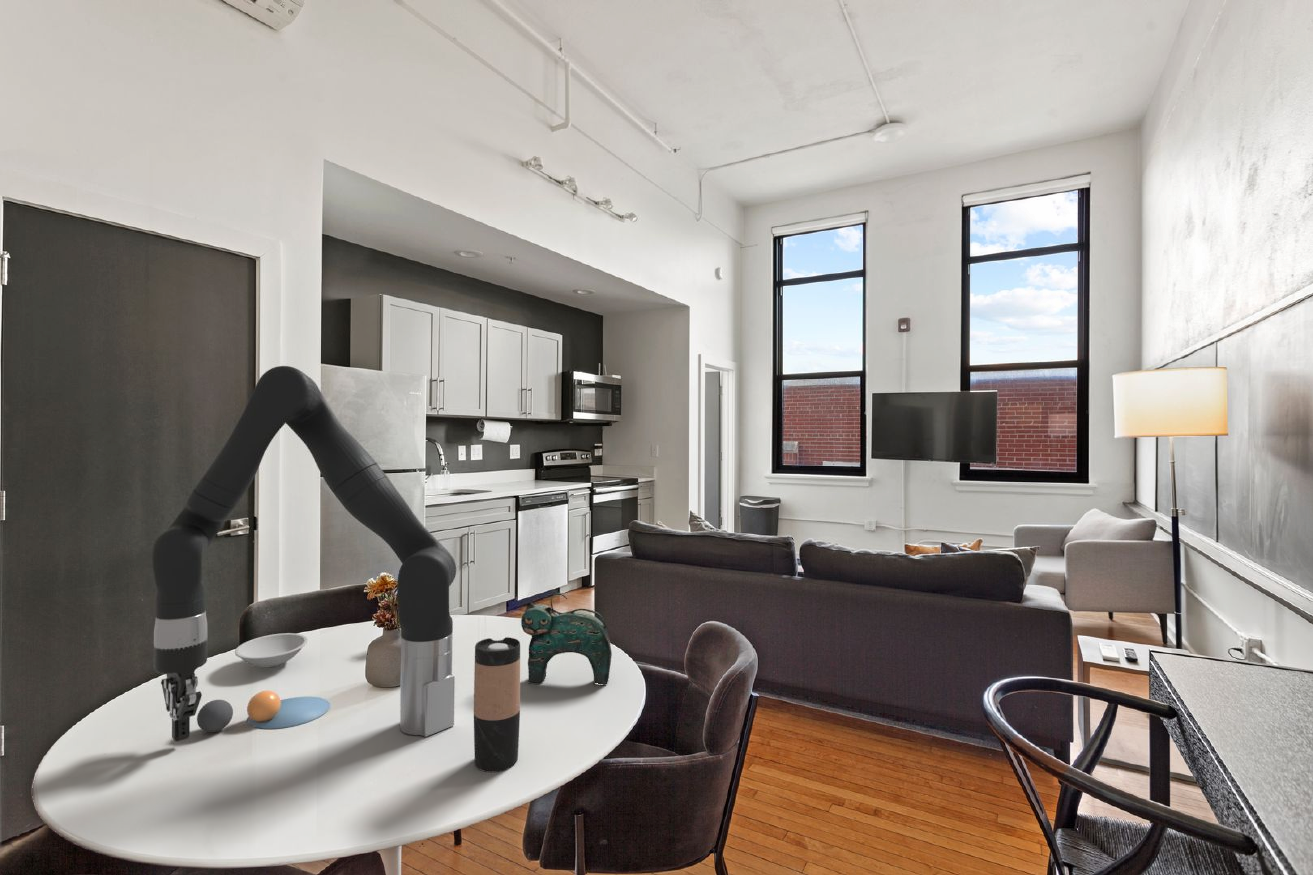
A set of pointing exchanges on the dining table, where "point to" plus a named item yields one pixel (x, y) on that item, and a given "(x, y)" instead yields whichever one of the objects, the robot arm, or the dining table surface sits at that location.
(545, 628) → the ceramic cat
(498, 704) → the travel mug
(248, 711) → the orange ball
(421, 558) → the robot arm
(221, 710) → the gray ball
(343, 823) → the dining table surface
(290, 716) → the blue mark
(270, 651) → the dish
